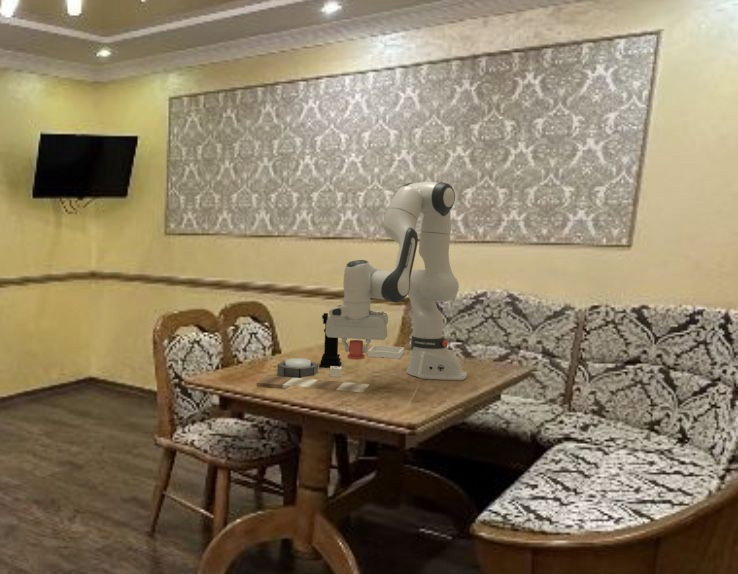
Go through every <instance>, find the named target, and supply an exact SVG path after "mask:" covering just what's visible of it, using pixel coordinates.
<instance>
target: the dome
mask: <svg viewBox="0 0 738 574" xmlns="http://www.w3.org/2000/svg"><path fill="white" fill-rule="evenodd" d="M284 361H285V366H287V367H295V368H303V367H311V360H310V359H308V358H302V357H301V358H300V357H299V358H298V357H295V358H294V357H293V358H292V357H291V358H287V359H285V360H284Z"/></svg>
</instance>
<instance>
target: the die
mask: <svg viewBox="0 0 738 574" xmlns="http://www.w3.org/2000/svg"><path fill="white" fill-rule="evenodd" d="M342 371H343V369H342V365H341V366H330V368H329V377H330V378H331V377H332V378H333V377H334V378H342Z"/></svg>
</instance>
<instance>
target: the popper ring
mask: <svg viewBox="0 0 738 574" xmlns="http://www.w3.org/2000/svg"><path fill="white" fill-rule="evenodd" d="M285 361H286V360H284V361H280V362H279V363H277V375H276V376H282V377H293V378H303V377H304V378H305V377H311V376H315V375H317V373H319V364H318V363H316V362H314V361H311V360H310V361H311V367H303V368H295V367H287V366H285Z"/></svg>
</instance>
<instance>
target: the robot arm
mask: <svg viewBox="0 0 738 574" xmlns="http://www.w3.org/2000/svg"><path fill="white" fill-rule="evenodd" d="M455 193H456V192H455V191H454V188H453V186H452V185H451V184H449V183H447V182H442V181H439V182H436V181H422V182H421V181H420V182H408V183H405V184H403V185H402V186H401V187H400V188H398V190H397V191H396V192H395V194H394V195H393V197H392V198H391V201H390V203H389V205H388V207H387V210H386V212H385V215H384V217H383V221H382V226H383V230H384V232H385V234H386V235H387V237H389V238H390V239H391V240H393V241H394V242H396V243H397V244H398V246H399V247H398V252H397V256H396V257H397V258H396V261H395V266H394V268H392V269H391V270H382V269H378V268H377V267H376V268H375V267H374V266H373V265H371V264H370V263H369V261H368V260H364V259H357V260H356V259H355V260H352V261H349V262H348V263H346V265H345V267H344V273H343V291H344V292H343V293H344V296H343V301H342V302H343V303H342V304H339V305H337V306H334V307H332V308H330V309H329V310H328V319H327V323H326V335H327V337H333V338H338V339H341V343H342V344H343V347H344V352H347V353H349V352H350V345H348V342H347V341H348V339H351V340H365V343H366V344H365V346H364V345H363V347H362V352H363V354H364V353H367V354H368V350H369V349H368V347H369V346H370V344H371V342H372V340H375V341H376V340H377V341H384V340H386V338H388V326H387V325H388V323H389V315H388V314H387V313H385V312H384V311H381V310H379V311H377V310H371V298H372V299H376V300H384V301H388V302H392V303H400V302H402V301H403V300H404V299H405V298H406V297H407V296H408V299H409V301H410V305H411V309H412V318H413V319H412V321H413V322H412V335H411V338H410V350H411V353H410V357H409V362H408V366H407V369H406V374H408V375H410V376H414V377H418V378H419V379H423V380H424V379H425V380H443V381H446V380H447V381H463V380H465V379H467V377H468V375H467V374H468V373H467V372H466V371H465V370H463V369H462V364H461V361H460V358H459V357H458V356H457V355H456V354H455V353H454V352H452V351H451V350H450V349H449V348H448V344H449V342H448V340H447V339H448V338H444V337H443V329H444V328H443V325H444V317H443V315H442V313H441V312H440V310H439V309H438V306H437V302H439V303H441V302H442V303H443V302H450V301H452V300H454V299H455V298H456V297H457V294H458V292H459V290H460V289H459V287H460V284H459V281H458V279H457V278H456V277H455V275H454V273H453V271H452V268H451V263H450V254H449V253H450V251H449V250H450V239H451V230H452V229H451V226H452V225H451V223H452V222H451V221H452V220H451V210H452V209H453V206H454V203H455V200H456V194H455ZM421 213H422V215H423V216H422V221H421V226H420V232H419V233H420V234H419V235H420V236H418V233H417V231H416V226H417V223H418V219H419V216H420V214H421ZM418 242H419V244H418ZM417 248H418V255H420V257H421V259H422V260H423V263H424V269H420V268H419V269H414V270H413V266H414V263H415V257H416V252H417Z"/></svg>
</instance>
